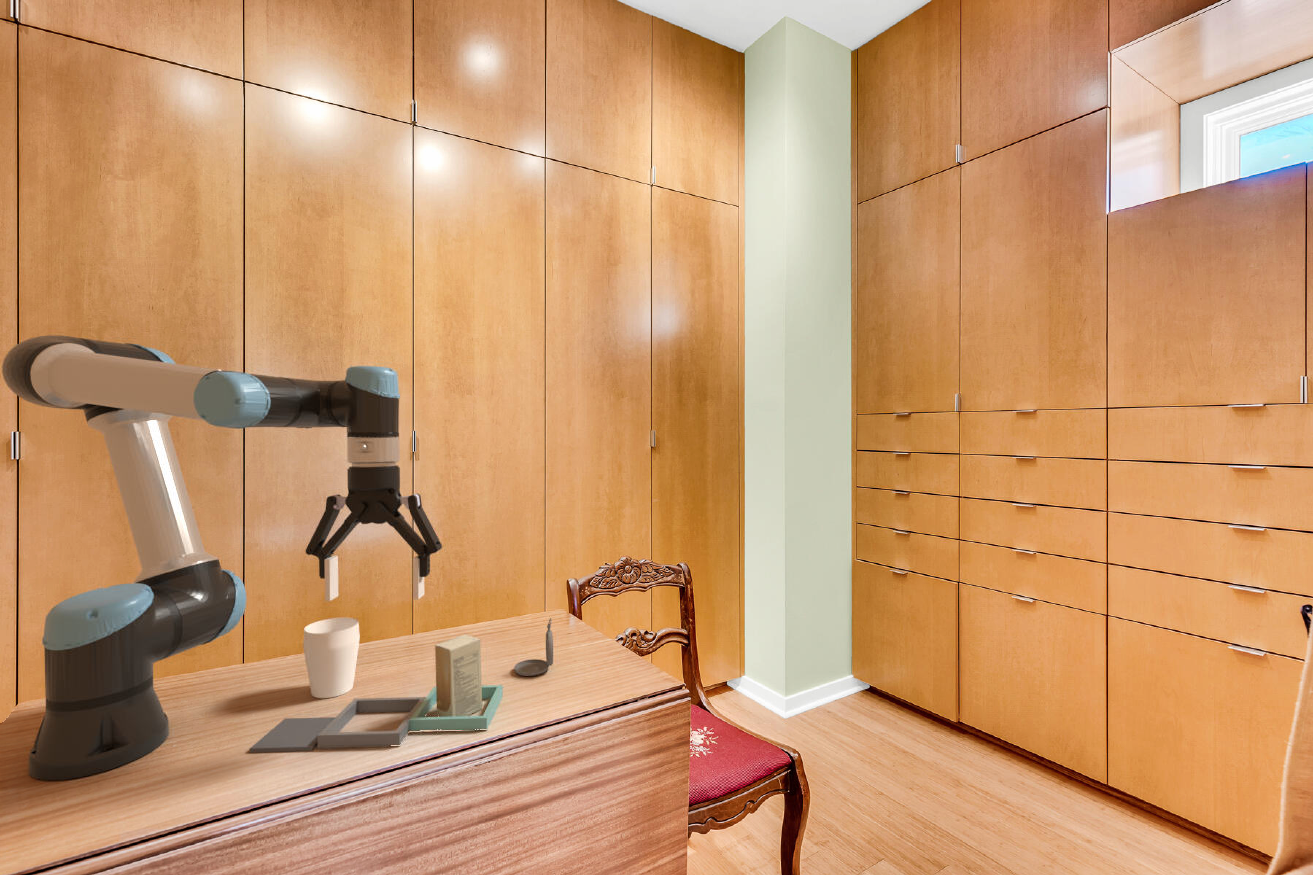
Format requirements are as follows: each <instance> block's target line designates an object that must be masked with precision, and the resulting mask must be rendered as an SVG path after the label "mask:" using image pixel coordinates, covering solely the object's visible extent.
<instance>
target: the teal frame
mask: <svg viewBox="0 0 1313 875" xmlns="http://www.w3.org/2000/svg"><path fill="white" fill-rule="evenodd" d="M503 686H504V685H503V684H495V685H492V684H491V685H490V684H489V685H482V700H484V699H486V700H487V699H490V701H489V703H488V705H487V707H486V709H485V711H484V713H483V715H468V716H455V717H437V716H426V717H425V715H426V714H427V713H428V712H429V713H430V711H431V710H432V709H433V707H434V706H433V705H435V704H437V696H436V686H433V688H432V689H431V690H430V692H428V694H427V696H425V697H426V698H425V700H424V701H423V702H422V704H421V705H420V706H419V708H418V709H417V710H416V712H415V713H414V714H413V716H412V717H411V719H410V720H409V731H420V730H437V729H438V730H440V729H441V730H475V729H476V730H477V729H479V730H480V729H487V728H488V729H489V727H490V725H491V723H492V721H493V719H492V718H494V717H495V714H496V712H497V709H498V708H499V706H500V703H501V701H502V699H503V696H504V695H503V694H504V687H503ZM430 709H431V710H430ZM429 710H430V711H429ZM429 713H428V714H429ZM428 714H427V715H428ZM491 720H492V721H491ZM490 722H491V723H490ZM489 724H490V725H489ZM488 726H489V727H488ZM488 729H487V730H488Z"/></svg>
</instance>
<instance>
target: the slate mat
mask: <svg viewBox="0 0 1313 875" xmlns="http://www.w3.org/2000/svg"><path fill="white" fill-rule="evenodd" d="M336 717H337V716H334V717H333V716H331V717H330V716H329V717H325V716H324V717H290V718H289V717H288V718H286V717H285V718H284V719H283V720H281V721H279V723H278V724H276V726H274V727H273V728H272V729H271V730H270V731H268V732H267V733H266V734H265V735H264V736H263V737H261V738H260V739H258V741H256V743H254V744H252V746H251V747H249V753H275V752H277V753H280V752H309V751H310V752H312V751H314V749H316V748H317V747H318V740H317V735H318V734H319V733H320V732H321V731H322V730H323V729H324V728H325V727H326V726H327V725H328V724H330V723H331V722H332V721H333V720H334V719H335V718H336Z"/></svg>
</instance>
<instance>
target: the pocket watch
mask: <svg viewBox="0 0 1313 875" xmlns="http://www.w3.org/2000/svg"><path fill="white" fill-rule="evenodd" d="M546 627H547V631H546V632H545V660H543V659H538V658H537V659H535V658H534V659H532V658H531V659H525V660H521V661H519V662H518V663H516V664H515V665H514V667H513V670H514V672H515V674H516V675H517V674H518V675H519V676H527V677H528V676H529V677H530V676H537V675H540V674H544V673H545V672H547V670H549V667H551V666H552V665H553V664H554V638H553V637H554V635H553V630H552V629H551V627H552V618H551V617H550V618H549V620H548V623H547V626H546Z"/></svg>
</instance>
